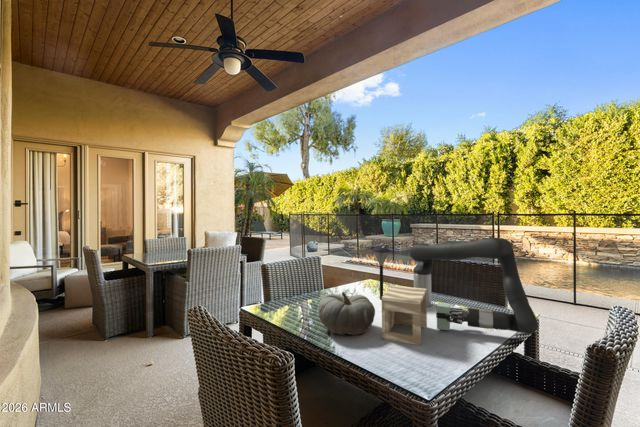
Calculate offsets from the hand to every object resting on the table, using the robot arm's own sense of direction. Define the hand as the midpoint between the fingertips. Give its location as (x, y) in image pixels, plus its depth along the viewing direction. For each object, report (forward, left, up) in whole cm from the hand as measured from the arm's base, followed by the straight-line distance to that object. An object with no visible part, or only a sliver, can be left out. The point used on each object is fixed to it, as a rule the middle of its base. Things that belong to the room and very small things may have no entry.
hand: (437, 313), depth 140 cm
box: (+10, -11, -7) cm, 17 cm away
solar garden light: (-34, -33, -7) cm, 48 cm away
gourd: (+16, -36, -7) cm, 40 cm away
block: (0, +3, -6) cm, 7 cm away
